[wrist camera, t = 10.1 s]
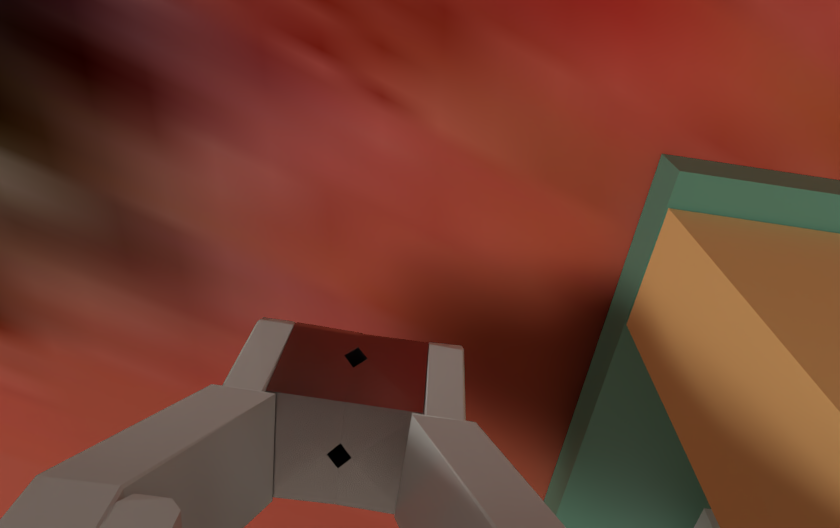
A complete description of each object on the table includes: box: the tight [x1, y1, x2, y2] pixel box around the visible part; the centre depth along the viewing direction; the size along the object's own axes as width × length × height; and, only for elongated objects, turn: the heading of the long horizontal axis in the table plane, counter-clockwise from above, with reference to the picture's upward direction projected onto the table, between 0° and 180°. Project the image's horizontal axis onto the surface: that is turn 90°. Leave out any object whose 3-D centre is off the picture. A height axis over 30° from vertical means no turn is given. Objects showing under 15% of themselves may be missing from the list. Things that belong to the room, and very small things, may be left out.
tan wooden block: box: [626, 208, 840, 528], centre depth 11 cm, size 6×4×7 cm
